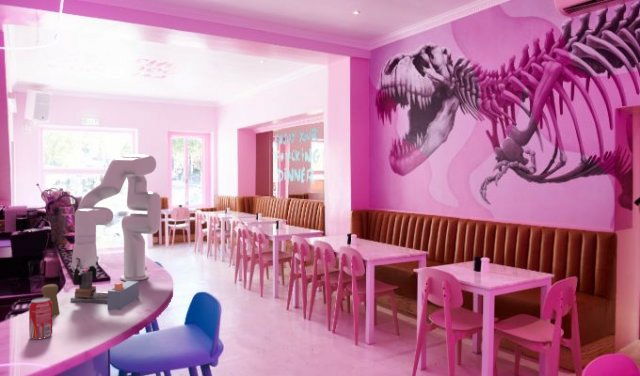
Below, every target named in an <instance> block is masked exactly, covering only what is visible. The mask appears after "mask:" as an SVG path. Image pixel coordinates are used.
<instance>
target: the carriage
mask: <svg viewBox="0 0 640 376" xmlns="http://www.w3.org/2000/svg"><path fill="white" fill-rule="evenodd" d="M81 274H82V284H81V285H78V287H75V290H74V296H75V297H87V298H90V297H91V291H97V286H95V285H93V279H92V272H88V271H82V273H81Z"/></svg>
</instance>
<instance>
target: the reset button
mask: <svg viewBox="0 0 640 376" xmlns="http://www.w3.org/2000/svg"><path fill="white" fill-rule="evenodd" d="M123 283H124V282H115V283H114V285H113V286H114V287H113V288H114V290H122V289H123Z"/></svg>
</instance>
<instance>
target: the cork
mask: <svg viewBox="0 0 640 376" xmlns="http://www.w3.org/2000/svg"><path fill="white" fill-rule="evenodd" d="M58 292H59V286H58V284H56V283H55V284H54V283H50V284H46V285H43V286H42V287H41V293H42V295H43V296H42V298H50V301H51V302H52V318H53V317H56V316H59V315H60V306H59V301H58V295H57V294H58Z"/></svg>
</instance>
